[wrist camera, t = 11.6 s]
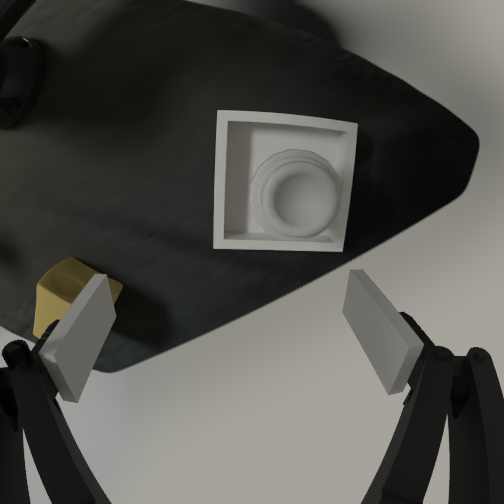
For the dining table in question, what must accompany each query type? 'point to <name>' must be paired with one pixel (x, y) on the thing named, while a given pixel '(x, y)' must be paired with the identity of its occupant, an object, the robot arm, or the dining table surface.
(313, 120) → the white square tray
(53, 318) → the cheese
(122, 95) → the dining table surface
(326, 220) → the coffee cup
